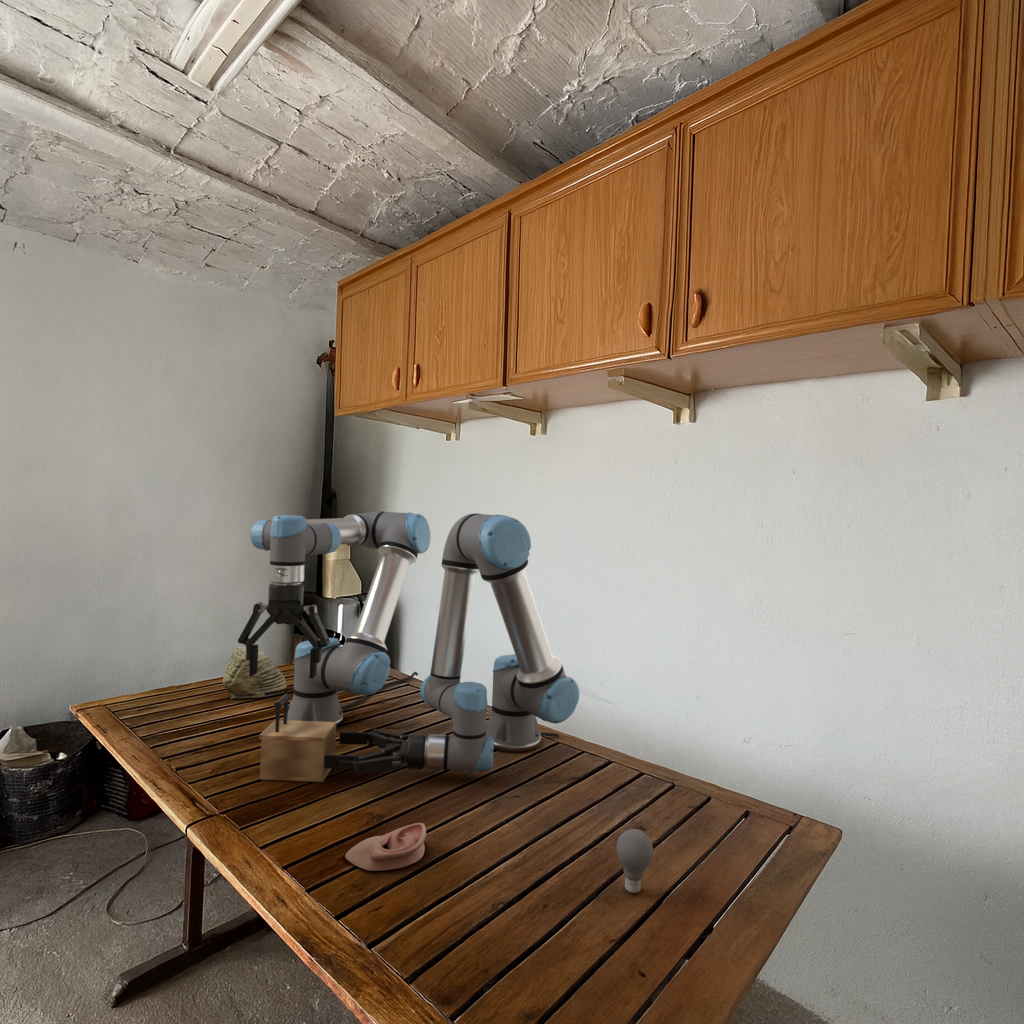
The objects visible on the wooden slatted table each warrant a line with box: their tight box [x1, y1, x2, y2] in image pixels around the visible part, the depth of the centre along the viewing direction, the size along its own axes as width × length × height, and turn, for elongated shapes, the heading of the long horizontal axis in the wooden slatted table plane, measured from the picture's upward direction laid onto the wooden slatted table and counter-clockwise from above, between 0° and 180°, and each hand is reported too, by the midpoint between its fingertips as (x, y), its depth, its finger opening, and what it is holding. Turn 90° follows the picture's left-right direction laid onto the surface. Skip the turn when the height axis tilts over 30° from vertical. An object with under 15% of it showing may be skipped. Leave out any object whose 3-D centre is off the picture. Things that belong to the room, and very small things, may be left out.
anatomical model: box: [344, 822, 427, 872], centre depth 113 cm, size 13×4×12 cm
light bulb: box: [615, 828, 654, 894], centre depth 106 cm, size 6×6×10 cm
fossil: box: [222, 646, 288, 699], centre depth 198 cm, size 9×18×15 cm, turn 132°
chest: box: [259, 727, 337, 783], centre depth 145 cm, size 14×10×9 cm
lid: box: [258, 693, 337, 742], centre depth 145 cm, size 14×10×8 cm
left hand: (283, 675), depth 145 cm, fingers open, 13 cm apart
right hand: (332, 748), depth 144 cm, fingers open, 13 cm apart
